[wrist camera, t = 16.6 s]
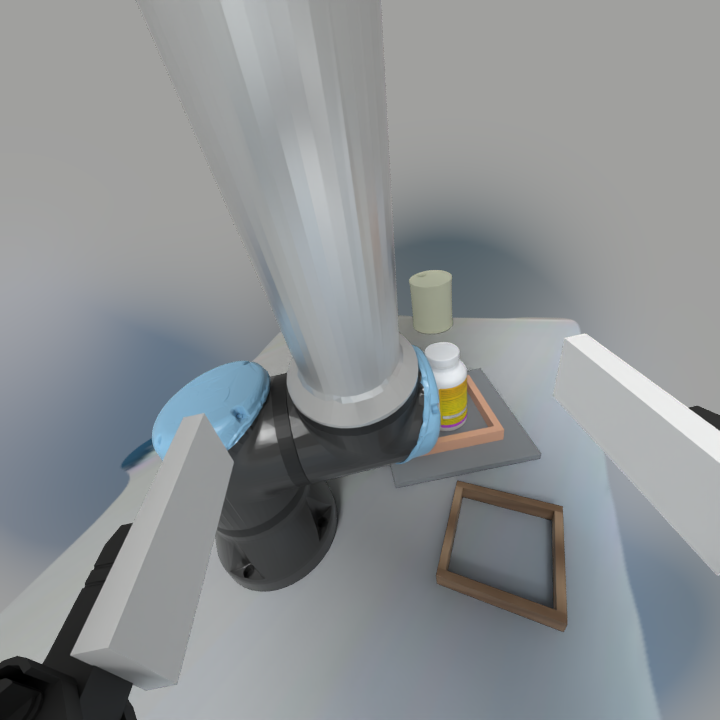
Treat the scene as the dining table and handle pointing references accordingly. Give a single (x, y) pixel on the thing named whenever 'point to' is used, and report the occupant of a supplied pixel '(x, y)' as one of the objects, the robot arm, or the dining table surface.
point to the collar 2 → (493, 595)
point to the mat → (478, 456)
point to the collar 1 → (475, 436)
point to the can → (431, 301)
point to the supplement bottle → (449, 383)
